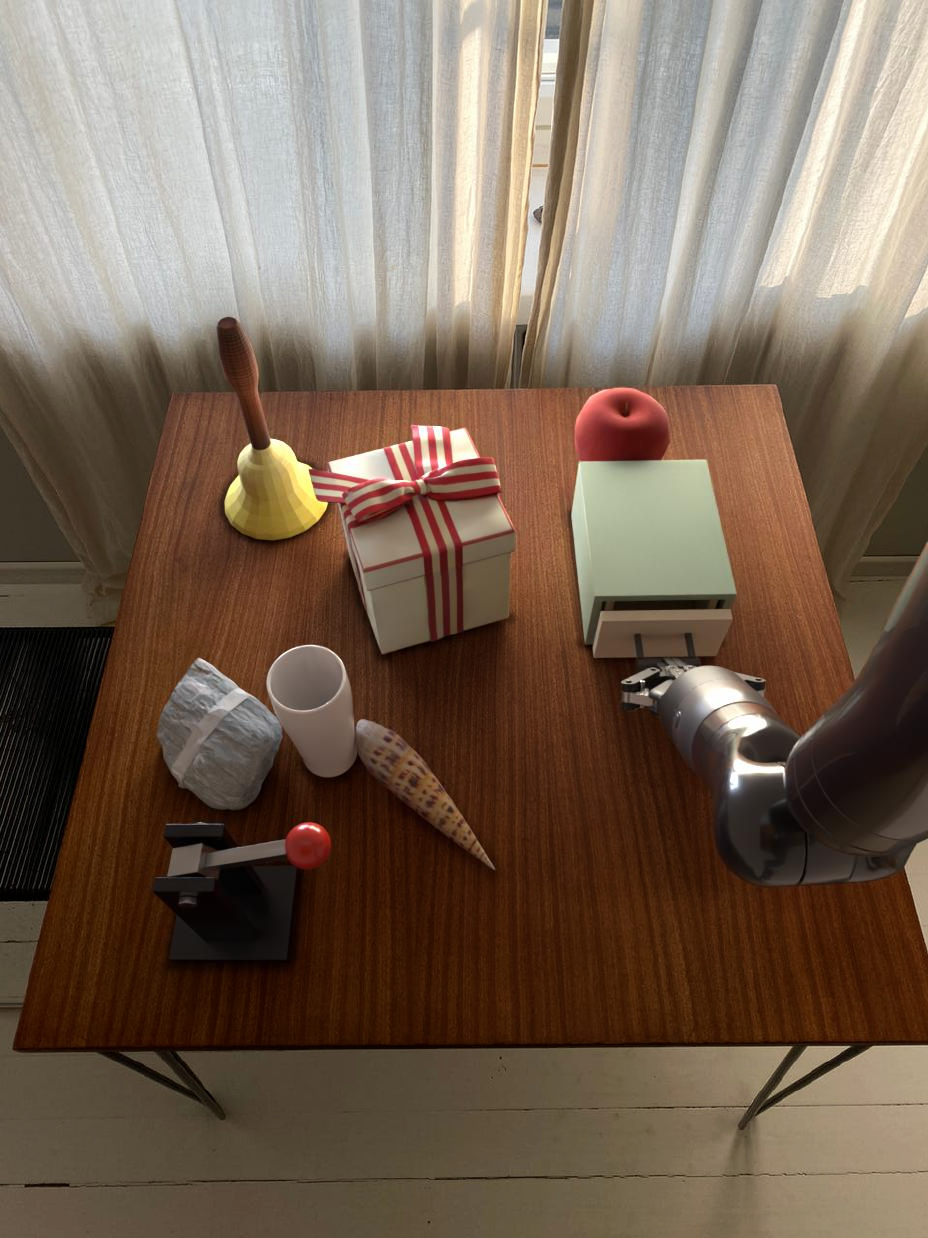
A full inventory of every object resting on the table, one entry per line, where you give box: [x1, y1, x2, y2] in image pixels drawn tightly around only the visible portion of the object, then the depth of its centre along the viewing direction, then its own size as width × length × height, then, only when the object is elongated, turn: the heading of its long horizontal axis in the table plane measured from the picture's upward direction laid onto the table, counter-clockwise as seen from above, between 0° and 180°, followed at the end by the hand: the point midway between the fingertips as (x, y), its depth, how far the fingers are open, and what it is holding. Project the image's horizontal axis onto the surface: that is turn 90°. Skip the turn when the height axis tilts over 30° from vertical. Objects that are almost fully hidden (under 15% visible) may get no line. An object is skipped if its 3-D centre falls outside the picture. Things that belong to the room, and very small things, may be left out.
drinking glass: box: [266, 644, 358, 778], centre depth 79 cm, size 7×7×15 cm
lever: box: [166, 821, 332, 880], centre depth 63 cm, size 13×3×3 cm, turn 90°
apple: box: [574, 387, 671, 462], centre depth 100 cm, size 11×11×12 cm
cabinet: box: [570, 459, 738, 645], centre depth 93 cm, size 18×14×9 cm
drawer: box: [592, 600, 734, 674], centre depth 90 cm, size 21×13×7 cm, turn 1°
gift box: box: [308, 424, 517, 655], centre depth 89 cm, size 17×18×17 cm
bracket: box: [151, 822, 300, 964], centre depth 70 cm, size 10×8×16 cm
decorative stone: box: [156, 657, 284, 811], centre depth 83 cm, size 13×10×6 cm
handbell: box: [215, 316, 329, 541], centre depth 93 cm, size 12×12×25 cm
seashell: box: [355, 718, 496, 871], centre depth 80 cm, size 4×18×5 cm, turn 43°
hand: (669, 667), depth 83 cm, fingers closed
